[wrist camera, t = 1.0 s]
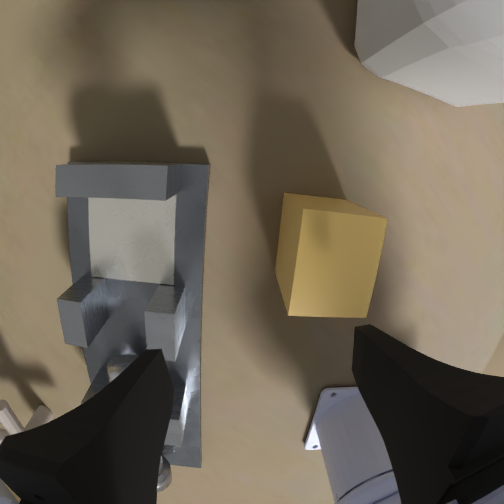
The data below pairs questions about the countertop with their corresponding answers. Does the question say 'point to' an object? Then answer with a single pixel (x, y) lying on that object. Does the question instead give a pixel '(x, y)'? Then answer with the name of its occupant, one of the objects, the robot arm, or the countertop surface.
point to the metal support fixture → (139, 277)
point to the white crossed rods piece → (12, 425)
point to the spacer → (327, 256)
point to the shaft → (114, 370)
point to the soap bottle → (435, 47)
